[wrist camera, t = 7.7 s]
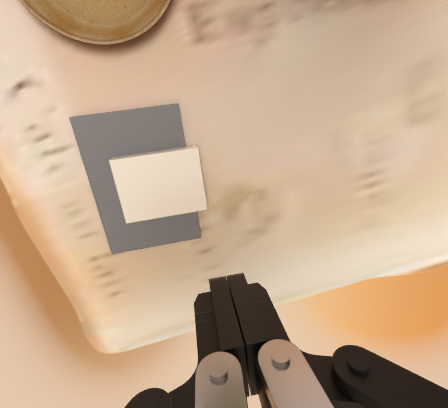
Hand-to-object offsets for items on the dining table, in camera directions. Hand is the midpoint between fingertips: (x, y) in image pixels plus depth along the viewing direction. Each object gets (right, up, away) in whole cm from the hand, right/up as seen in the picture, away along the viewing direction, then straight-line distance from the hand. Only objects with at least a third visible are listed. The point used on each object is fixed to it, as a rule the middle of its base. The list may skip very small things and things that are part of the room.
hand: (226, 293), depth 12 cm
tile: (-3, +7, +18) cm, 20 cm away
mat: (-9, +6, +19) cm, 22 cm away
